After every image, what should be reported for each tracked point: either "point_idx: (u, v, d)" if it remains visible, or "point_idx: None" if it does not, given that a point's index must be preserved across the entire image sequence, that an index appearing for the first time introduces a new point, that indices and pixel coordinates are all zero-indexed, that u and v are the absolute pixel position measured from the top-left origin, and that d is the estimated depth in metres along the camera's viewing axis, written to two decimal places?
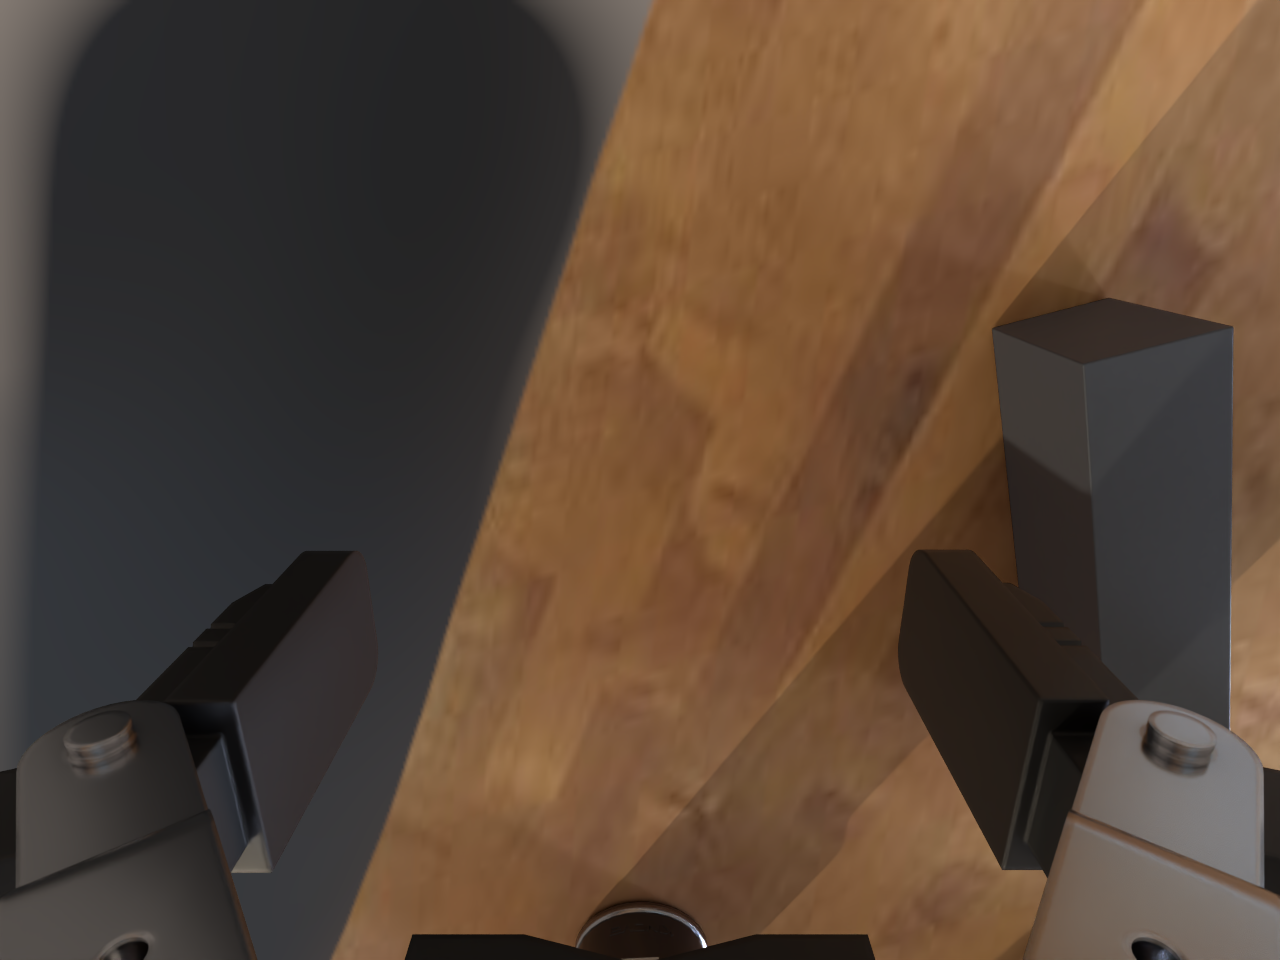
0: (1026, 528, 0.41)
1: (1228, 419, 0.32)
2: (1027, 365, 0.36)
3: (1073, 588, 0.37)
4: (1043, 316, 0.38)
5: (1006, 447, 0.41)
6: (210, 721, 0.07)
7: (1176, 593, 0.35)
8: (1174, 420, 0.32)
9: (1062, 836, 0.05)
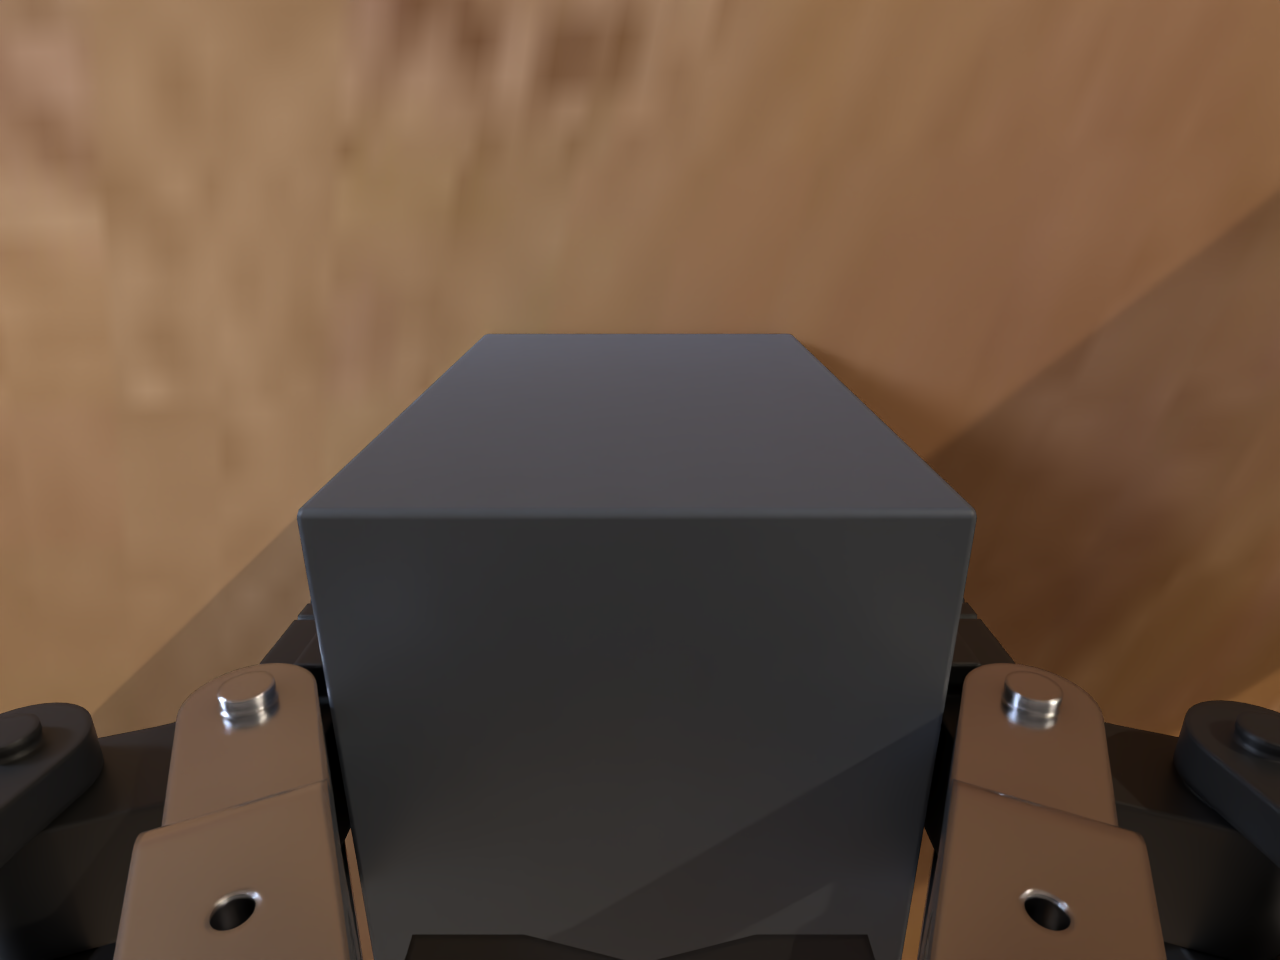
0: None
1: None
2: None
3: None
4: None
5: None
6: None
7: None
8: None
9: (951, 808, 0.05)
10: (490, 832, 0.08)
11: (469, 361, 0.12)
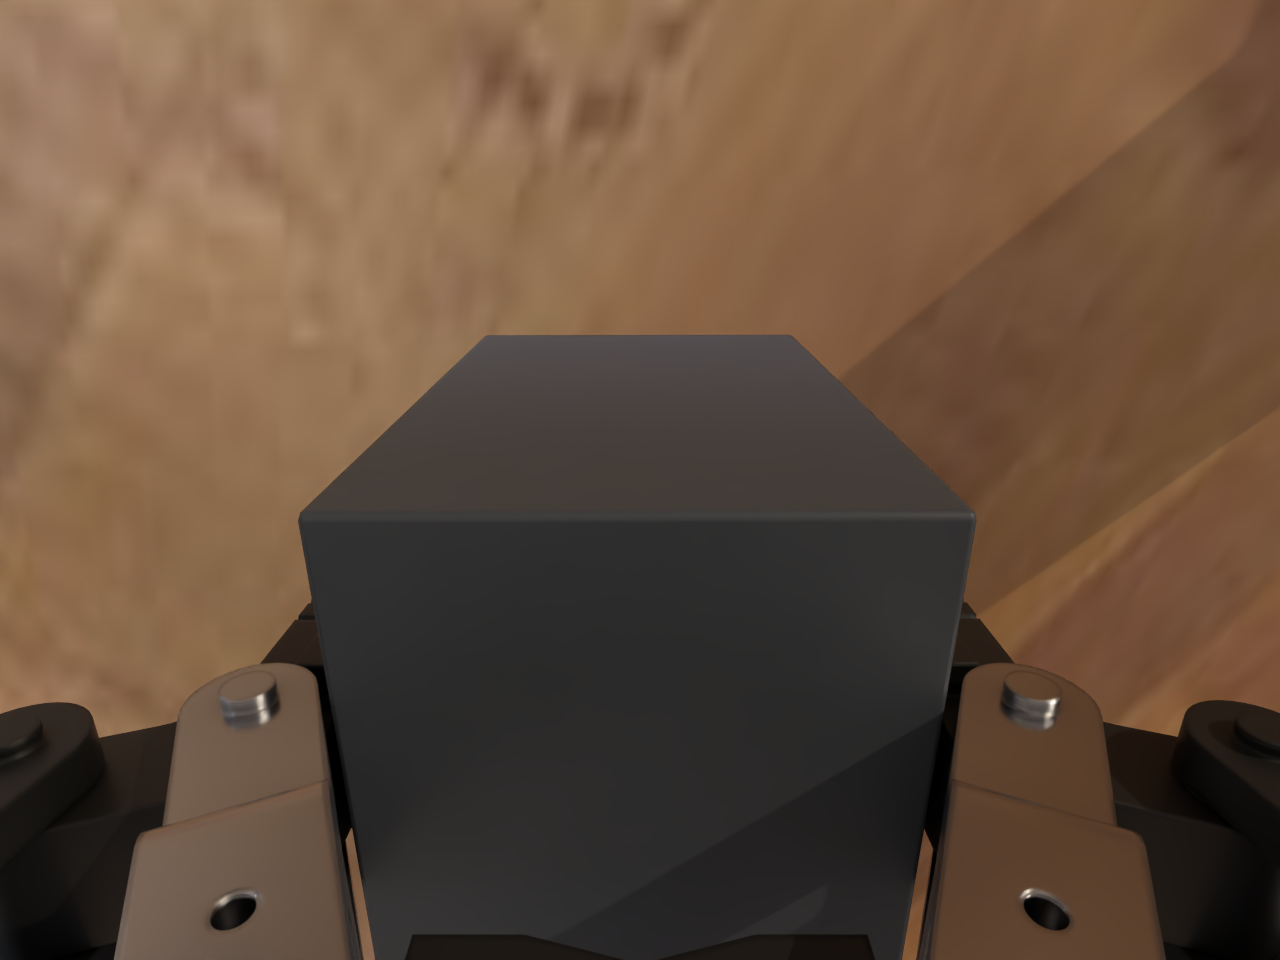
0: None
1: None
2: None
3: None
4: None
5: None
6: None
7: None
8: None
9: (950, 807, 0.05)
10: (492, 834, 0.08)
11: (469, 363, 0.12)
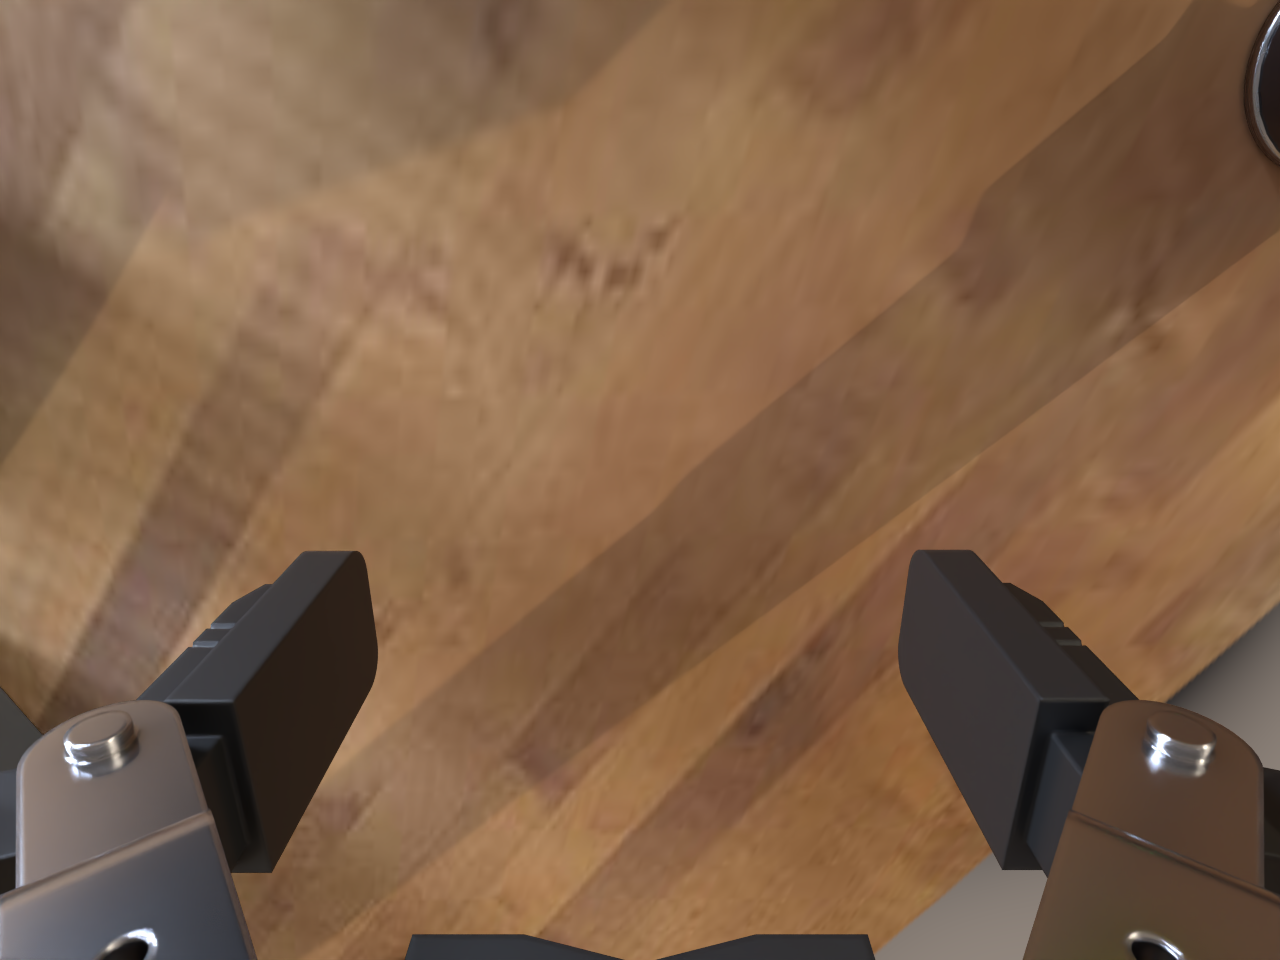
0: None
1: None
2: None
3: None
4: None
5: None
6: (210, 721, 0.07)
7: None
8: None
9: (1062, 836, 0.05)
10: None
11: None
